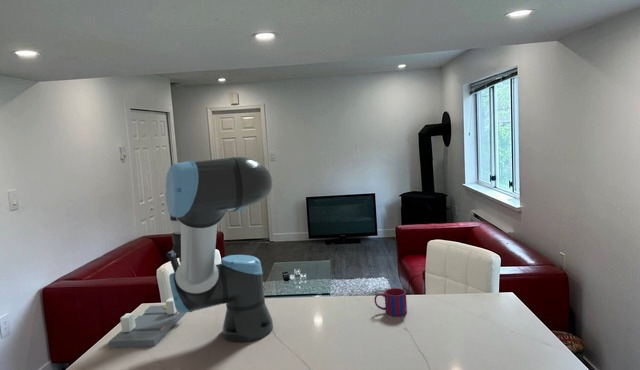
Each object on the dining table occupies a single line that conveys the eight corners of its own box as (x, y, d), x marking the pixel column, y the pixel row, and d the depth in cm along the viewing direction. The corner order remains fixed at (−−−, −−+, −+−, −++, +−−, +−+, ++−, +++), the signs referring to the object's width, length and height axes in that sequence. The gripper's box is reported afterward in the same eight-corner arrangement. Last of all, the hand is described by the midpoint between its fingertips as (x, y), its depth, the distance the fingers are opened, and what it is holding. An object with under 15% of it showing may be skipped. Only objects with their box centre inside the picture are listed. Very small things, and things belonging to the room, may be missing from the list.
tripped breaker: (174, 314, 141) (172, 301, 140) (167, 314, 141) (165, 301, 141) (178, 309, 144) (177, 297, 144) (171, 310, 145) (170, 297, 144)
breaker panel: (154, 346, 124) (153, 338, 124) (109, 347, 125) (108, 340, 125) (189, 309, 150) (188, 303, 149) (151, 311, 151) (150, 304, 151)
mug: (406, 317, 130) (405, 296, 130) (374, 316, 133) (373, 295, 132) (407, 308, 137) (406, 288, 136) (376, 307, 139) (375, 287, 138)
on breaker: (129, 331, 130) (128, 317, 129) (122, 332, 130) (120, 318, 130) (135, 326, 133) (134, 313, 133) (128, 326, 134) (126, 313, 133)
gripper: (206, 227, 142) (213, 294, 145) (169, 229, 143) (177, 295, 146) (198, 232, 135) (206, 303, 138) (159, 234, 136) (168, 304, 139)
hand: (191, 299), depth 142 cm, fingers closed
